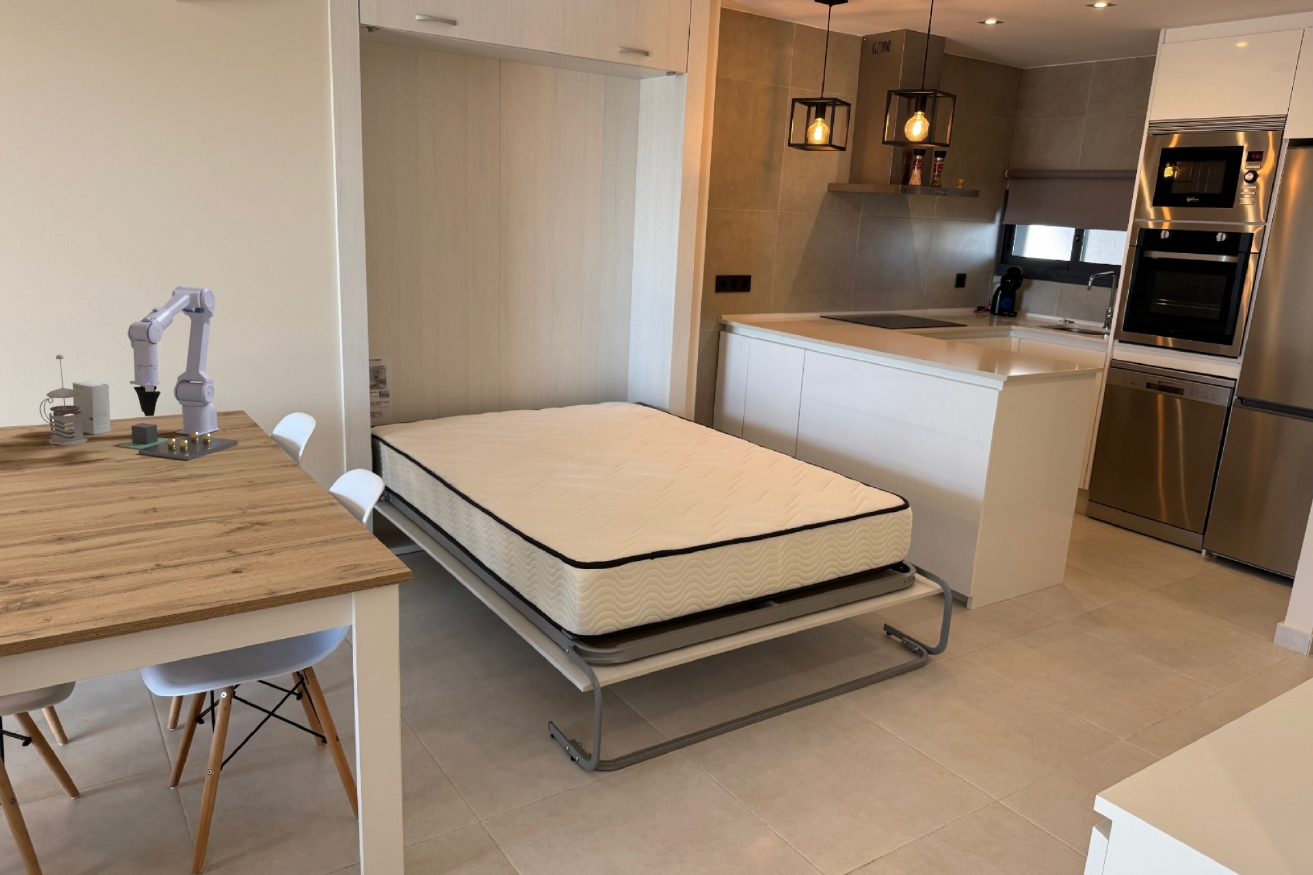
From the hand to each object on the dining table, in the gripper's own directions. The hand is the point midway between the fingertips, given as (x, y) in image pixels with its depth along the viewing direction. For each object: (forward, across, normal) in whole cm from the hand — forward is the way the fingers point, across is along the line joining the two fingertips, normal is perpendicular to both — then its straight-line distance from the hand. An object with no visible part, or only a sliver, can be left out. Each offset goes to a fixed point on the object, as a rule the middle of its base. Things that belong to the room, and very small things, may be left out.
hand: (147, 413), depth 252 cm
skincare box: (+10, -29, -12) cm, 33 cm away
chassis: (+10, +2, +10) cm, 14 cm away
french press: (+10, -20, -19) cm, 30 cm away
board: (+10, -9, 0) cm, 14 cm away
